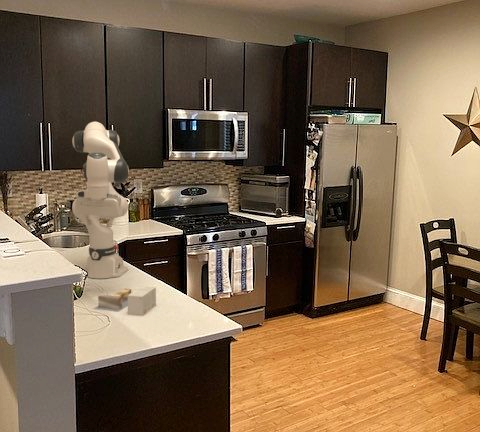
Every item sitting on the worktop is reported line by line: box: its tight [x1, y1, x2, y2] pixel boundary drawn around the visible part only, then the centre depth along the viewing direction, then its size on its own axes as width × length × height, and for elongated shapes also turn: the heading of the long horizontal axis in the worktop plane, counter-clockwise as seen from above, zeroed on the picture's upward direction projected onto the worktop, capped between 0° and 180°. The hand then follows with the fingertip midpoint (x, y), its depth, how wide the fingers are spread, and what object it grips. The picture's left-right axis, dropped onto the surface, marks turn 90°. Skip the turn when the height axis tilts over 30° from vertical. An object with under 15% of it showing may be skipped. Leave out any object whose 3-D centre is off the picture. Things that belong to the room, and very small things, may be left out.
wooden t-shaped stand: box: [97, 288, 132, 310], centre depth 211 cm, size 16×9×4 cm, turn 163°
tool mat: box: [93, 300, 128, 313], centre depth 212 cm, size 20×11×1 cm, turn 163°
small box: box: [127, 285, 157, 317], centre depth 203 cm, size 8×6×13 cm
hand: (99, 226), depth 216 cm, fingers open, 8 cm apart
